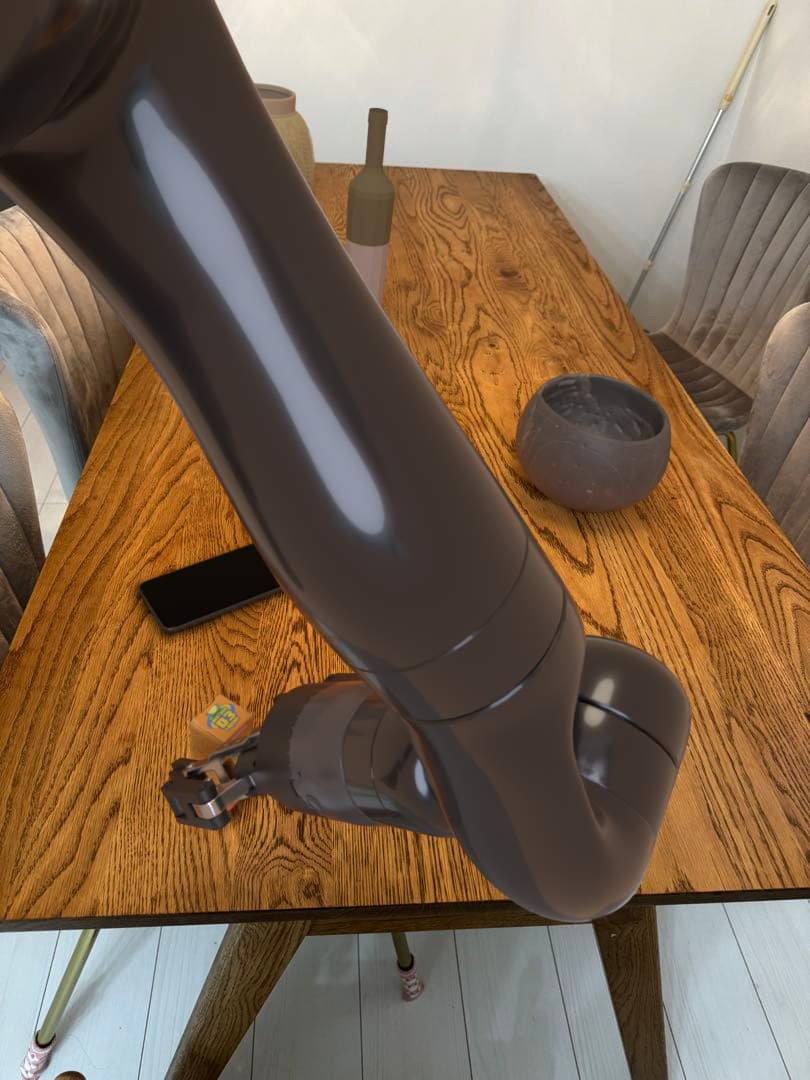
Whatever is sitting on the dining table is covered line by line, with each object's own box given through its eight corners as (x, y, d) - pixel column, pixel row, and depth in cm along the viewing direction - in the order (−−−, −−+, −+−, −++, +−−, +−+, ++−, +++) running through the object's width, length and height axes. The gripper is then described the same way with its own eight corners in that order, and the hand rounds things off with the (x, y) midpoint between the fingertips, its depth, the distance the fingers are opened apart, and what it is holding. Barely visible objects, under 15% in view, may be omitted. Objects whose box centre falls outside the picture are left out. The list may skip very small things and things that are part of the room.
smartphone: (166, 638, 75) (307, 583, 83) (165, 632, 75) (307, 577, 82) (135, 589, 80) (271, 540, 87) (134, 582, 79) (271, 534, 86)
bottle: (387, 310, 133) (409, 109, 113) (376, 328, 128) (396, 120, 108) (346, 301, 134) (361, 100, 114) (333, 319, 128) (346, 111, 109)
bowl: (535, 434, 110) (557, 349, 101) (664, 483, 104) (699, 397, 96) (481, 499, 97) (502, 409, 89) (625, 559, 92) (661, 468, 84)
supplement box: (226, 820, 62) (222, 744, 56) (191, 797, 64) (184, 719, 57) (254, 789, 65) (253, 712, 58) (220, 767, 66) (216, 689, 59)
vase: (191, 257, 140) (181, 82, 122) (266, 236, 150) (267, 72, 133) (260, 293, 132) (260, 112, 115) (333, 268, 143) (344, 99, 125)
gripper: (415, 629, 48) (288, 645, 61) (213, 763, 40) (116, 749, 53) (466, 739, 49) (331, 732, 62) (279, 893, 41) (168, 847, 54)
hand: (232, 739), depth 58 cm, fingers open, 8 cm apart
